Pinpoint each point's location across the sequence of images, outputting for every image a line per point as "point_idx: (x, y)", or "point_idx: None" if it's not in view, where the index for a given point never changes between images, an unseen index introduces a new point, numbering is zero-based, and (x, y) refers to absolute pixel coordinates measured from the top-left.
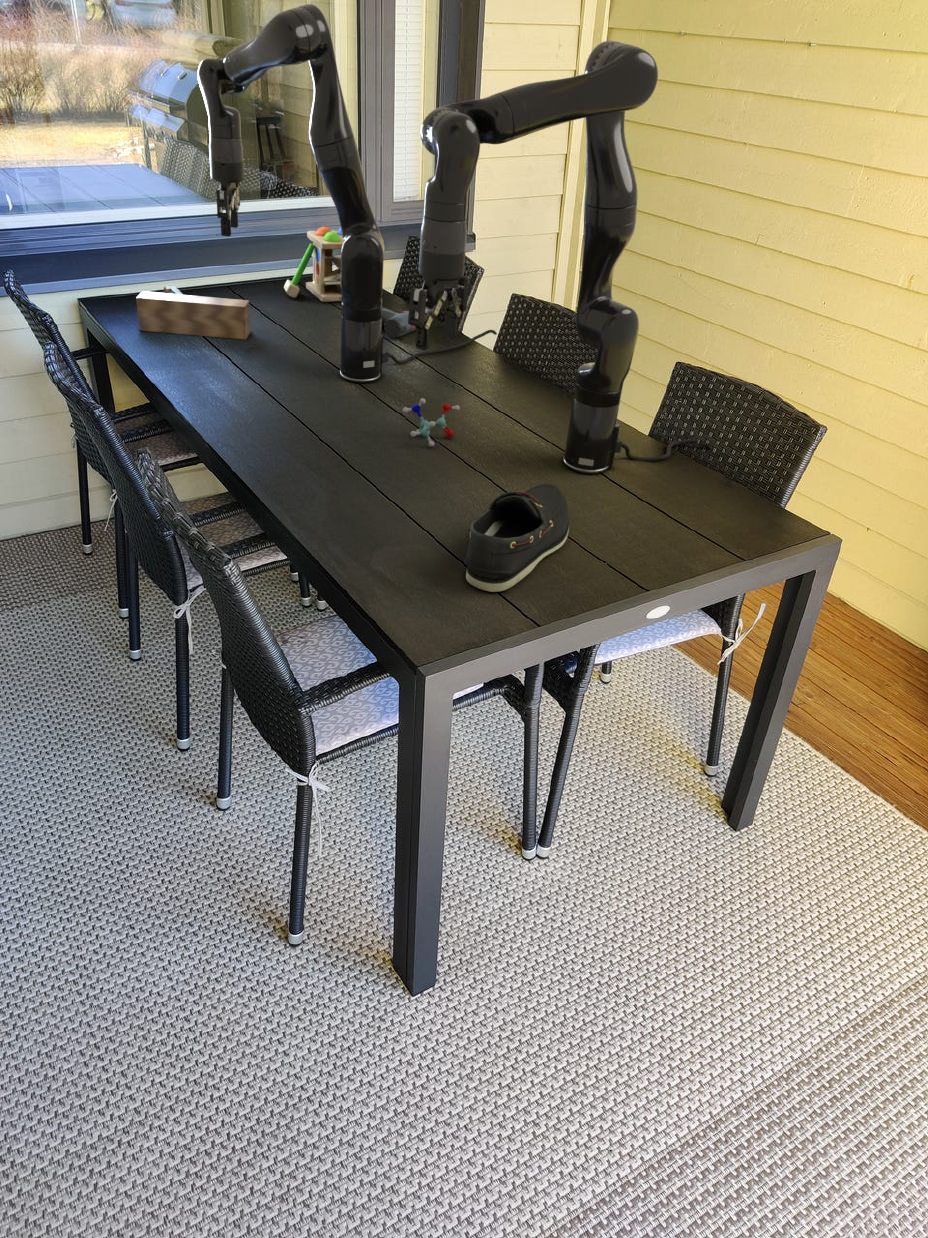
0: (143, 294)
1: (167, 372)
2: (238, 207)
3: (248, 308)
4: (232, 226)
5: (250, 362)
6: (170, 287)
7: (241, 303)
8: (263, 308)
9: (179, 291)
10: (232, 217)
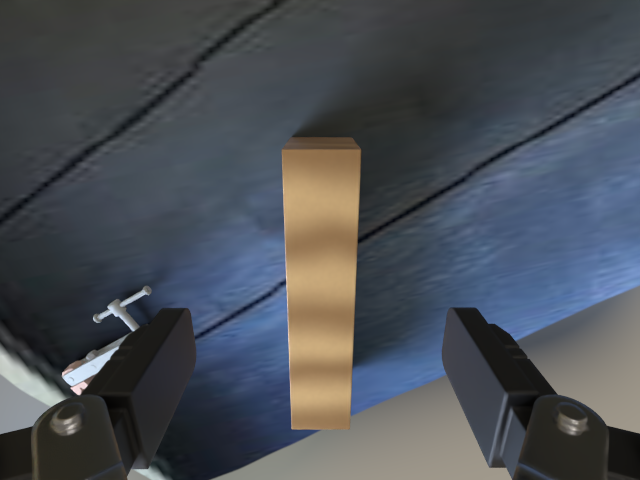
0: (319, 421)
1: (601, 265)
2: (70, 419)
3: (298, 146)
4: (193, 341)
5: (532, 89)
6: (77, 382)
7: (326, 167)
8: (67, 139)
9: (97, 359)
10: (164, 388)
